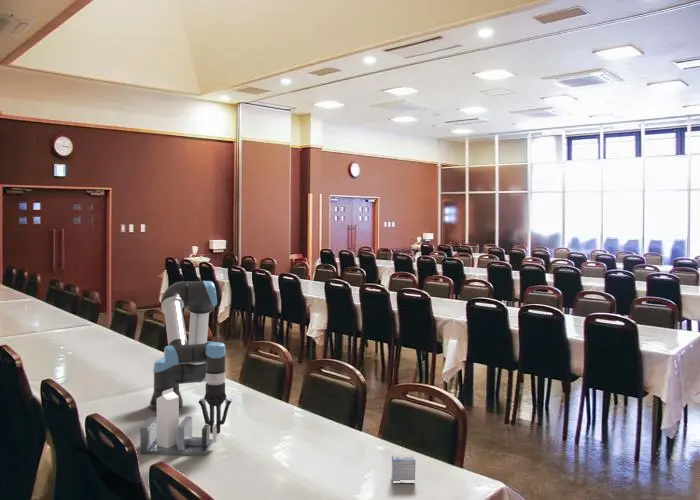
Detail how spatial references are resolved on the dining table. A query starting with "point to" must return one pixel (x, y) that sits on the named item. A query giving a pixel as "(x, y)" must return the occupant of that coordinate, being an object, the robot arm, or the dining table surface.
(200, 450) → the vise base
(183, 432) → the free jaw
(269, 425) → the dining table surface
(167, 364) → the robot arm
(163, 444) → the milk
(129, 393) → the dining table surface
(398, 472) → the medicine box
